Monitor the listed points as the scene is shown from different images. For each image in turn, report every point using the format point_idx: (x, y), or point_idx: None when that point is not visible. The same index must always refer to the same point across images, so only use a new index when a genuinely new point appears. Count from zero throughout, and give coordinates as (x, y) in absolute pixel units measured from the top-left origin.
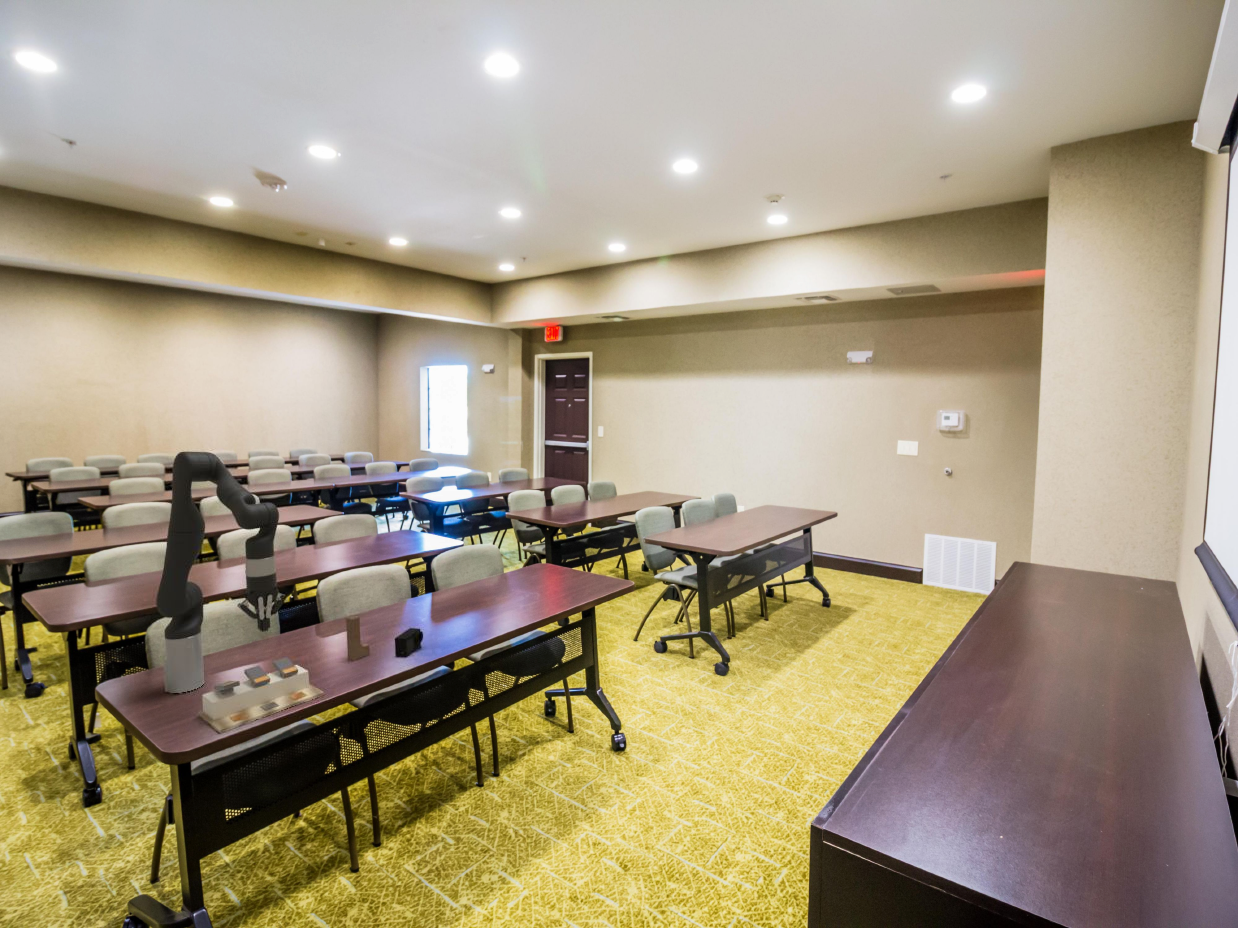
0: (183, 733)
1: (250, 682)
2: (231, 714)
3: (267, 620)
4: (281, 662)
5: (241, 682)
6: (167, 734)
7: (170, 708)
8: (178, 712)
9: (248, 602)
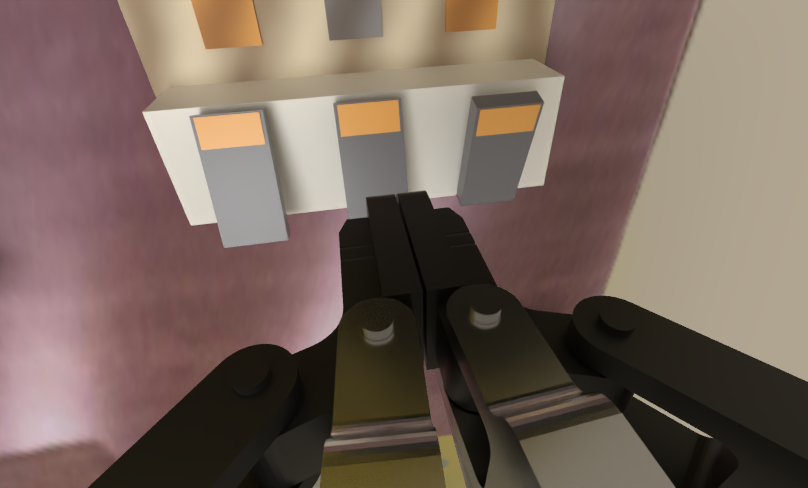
0: (610, 55)
1: None
2: (477, 56)
3: (384, 273)
4: (255, 213)
5: None
6: (632, 89)
7: (539, 253)
8: (541, 217)
9: None
